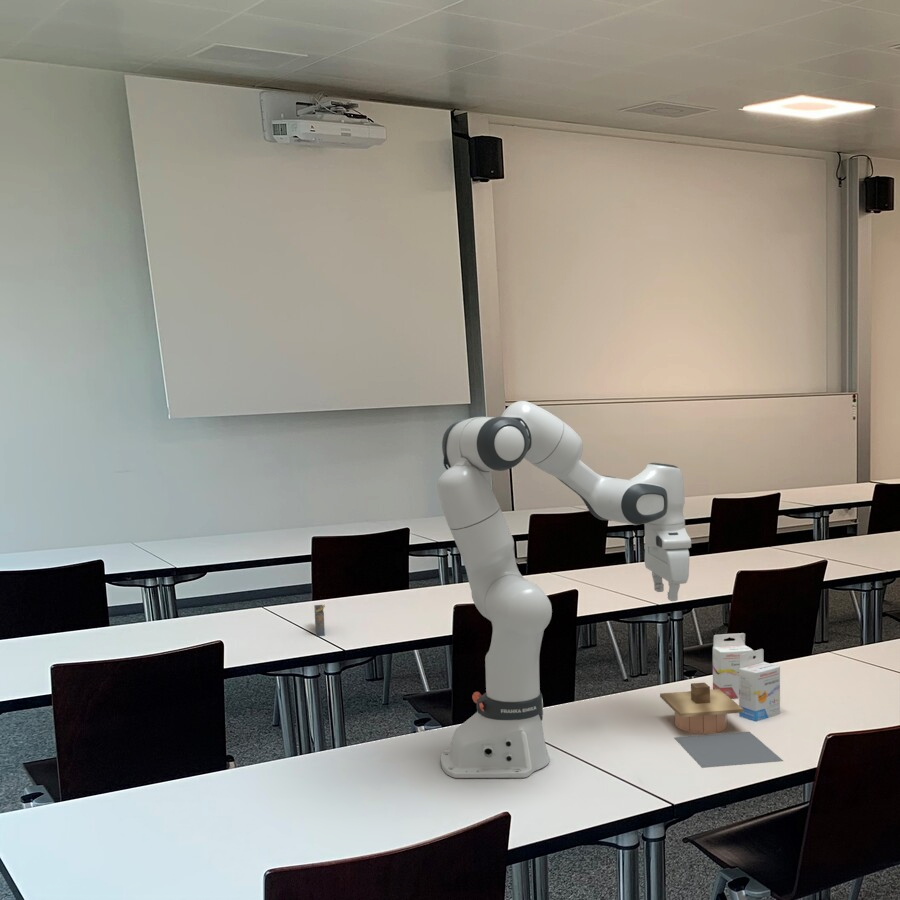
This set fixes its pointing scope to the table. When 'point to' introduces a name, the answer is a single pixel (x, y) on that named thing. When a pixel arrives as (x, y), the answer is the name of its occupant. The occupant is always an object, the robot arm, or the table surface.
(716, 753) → the rubber mat
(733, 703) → the oak cover
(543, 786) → the table surface
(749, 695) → the ink box
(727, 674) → the ink cartridge box
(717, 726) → the terracotta bowl
